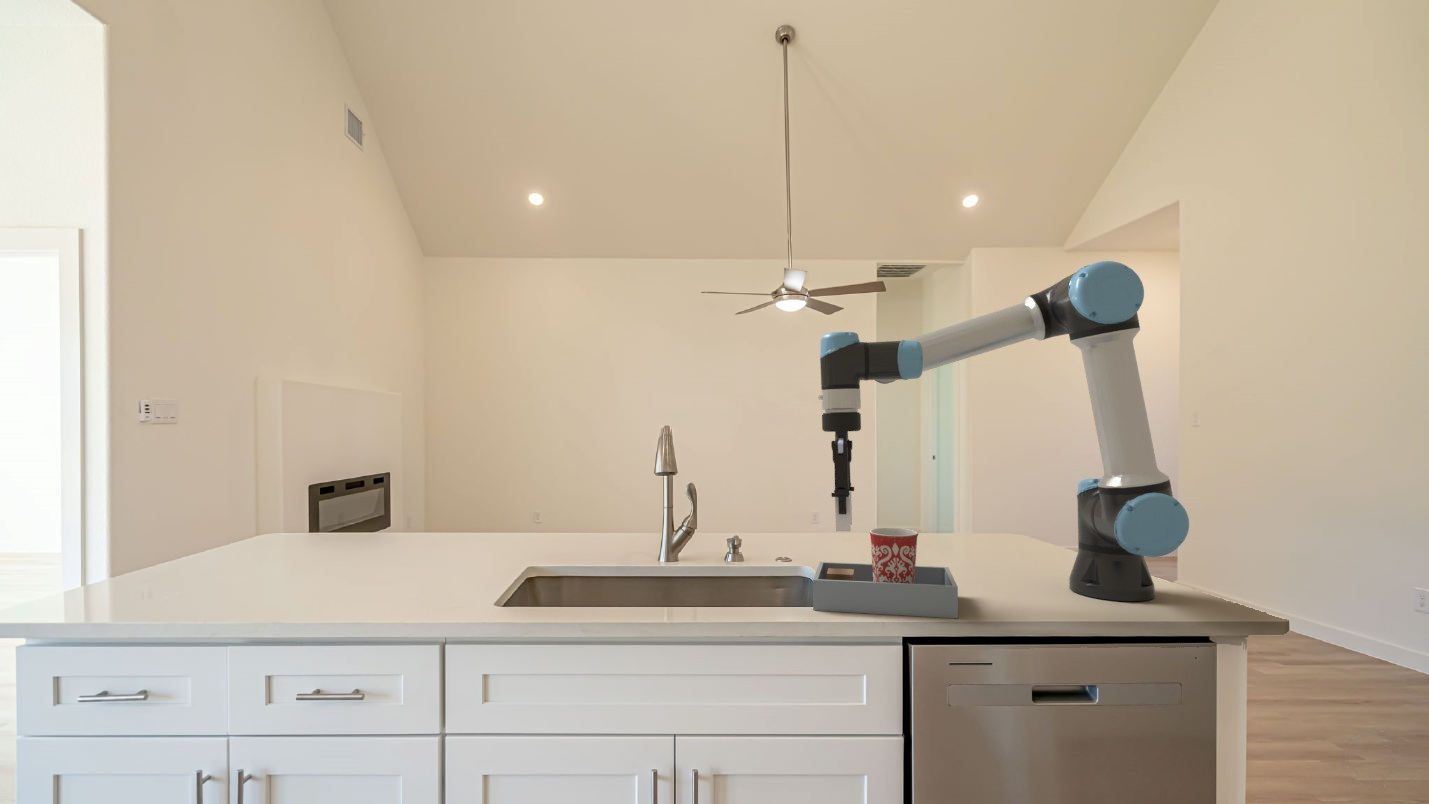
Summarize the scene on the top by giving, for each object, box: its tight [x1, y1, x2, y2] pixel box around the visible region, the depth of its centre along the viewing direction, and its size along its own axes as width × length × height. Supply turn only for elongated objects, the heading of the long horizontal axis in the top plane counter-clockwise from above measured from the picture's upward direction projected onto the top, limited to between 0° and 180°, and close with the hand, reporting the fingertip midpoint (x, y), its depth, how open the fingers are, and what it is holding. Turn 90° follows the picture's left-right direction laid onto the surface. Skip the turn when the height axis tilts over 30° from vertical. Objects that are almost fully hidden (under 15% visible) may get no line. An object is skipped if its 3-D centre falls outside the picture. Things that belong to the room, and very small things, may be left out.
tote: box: [812, 561, 959, 619], centre depth 137 cm, size 26×17×6 cm, turn 77°
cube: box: [827, 568, 854, 581], centre depth 139 cm, size 5×5×5 cm
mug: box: [869, 527, 919, 584], centre depth 137 cm, size 13×9×14 cm
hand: (844, 527), depth 139 cm, fingers open, 8 cm apart
